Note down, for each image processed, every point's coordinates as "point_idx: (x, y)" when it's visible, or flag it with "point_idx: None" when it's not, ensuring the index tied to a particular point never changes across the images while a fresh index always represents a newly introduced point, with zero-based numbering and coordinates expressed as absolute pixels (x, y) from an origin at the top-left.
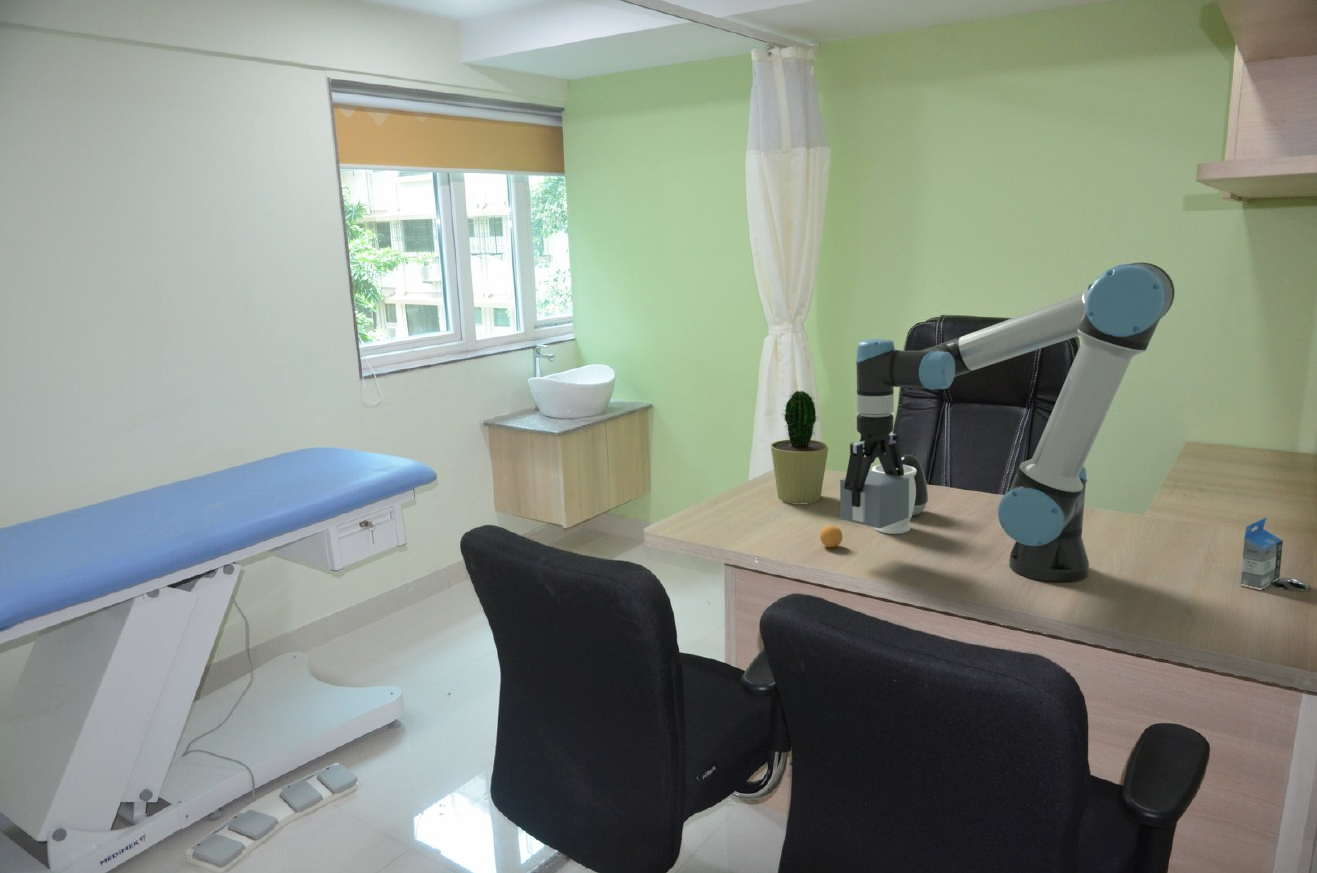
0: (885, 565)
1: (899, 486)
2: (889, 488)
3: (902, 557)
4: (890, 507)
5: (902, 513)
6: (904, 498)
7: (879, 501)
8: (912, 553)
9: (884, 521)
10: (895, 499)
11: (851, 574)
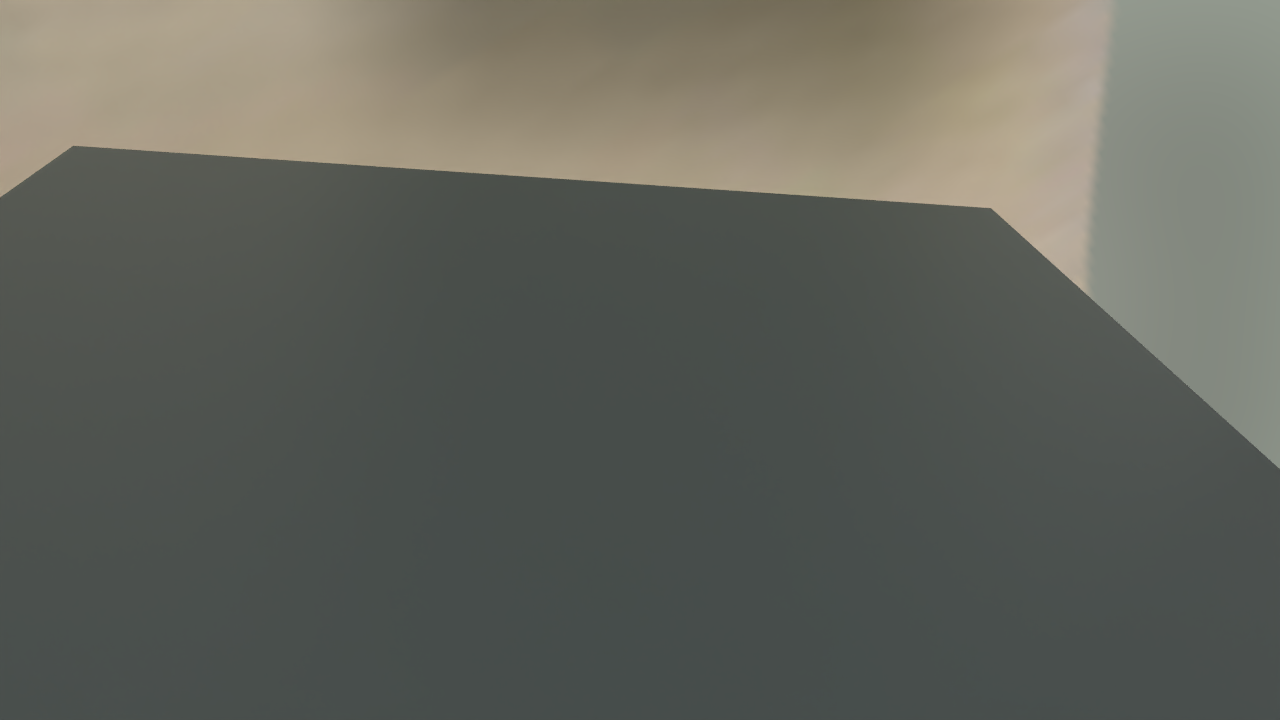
0: (605, 109)
1: (209, 590)
2: (895, 645)
3: (250, 103)
4: (713, 317)
5: (252, 203)
6: (63, 327)
7: (1271, 469)
8: (46, 86)
9: (868, 233)
10: (498, 380)
11: (1050, 226)
